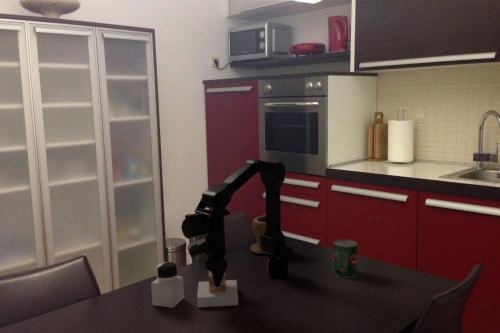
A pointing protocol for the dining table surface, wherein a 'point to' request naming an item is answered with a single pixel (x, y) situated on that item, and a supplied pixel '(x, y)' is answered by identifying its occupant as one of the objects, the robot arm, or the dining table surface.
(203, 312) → the dining table surface
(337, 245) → the canned tomato
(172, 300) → the medicine bottle
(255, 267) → the dining table surface
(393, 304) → the dining table surface
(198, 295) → the grey base
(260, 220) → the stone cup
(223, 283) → the terracotta cube
